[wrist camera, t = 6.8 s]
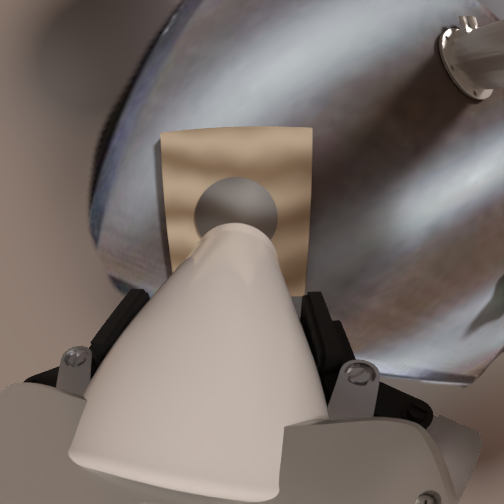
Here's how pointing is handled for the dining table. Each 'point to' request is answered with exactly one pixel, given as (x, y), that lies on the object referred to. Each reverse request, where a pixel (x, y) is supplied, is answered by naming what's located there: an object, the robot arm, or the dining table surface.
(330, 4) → the dining table surface
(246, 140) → the serving board
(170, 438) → the drinking glass
